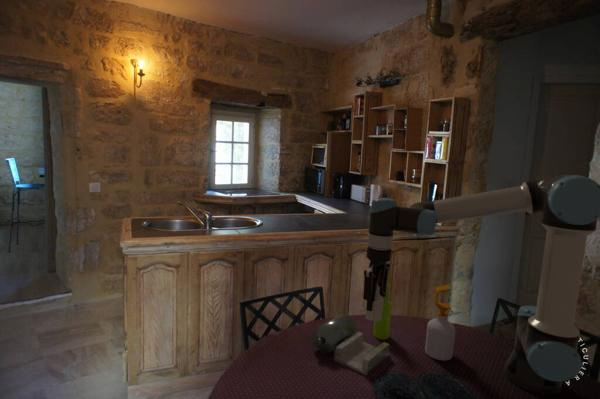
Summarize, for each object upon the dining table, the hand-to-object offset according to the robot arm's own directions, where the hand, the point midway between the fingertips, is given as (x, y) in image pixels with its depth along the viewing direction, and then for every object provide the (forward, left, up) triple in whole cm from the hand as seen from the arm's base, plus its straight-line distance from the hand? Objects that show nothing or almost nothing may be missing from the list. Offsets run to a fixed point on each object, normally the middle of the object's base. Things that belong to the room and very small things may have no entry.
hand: (372, 317), depth 120 cm
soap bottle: (-15, -21, -16) cm, 30 cm away
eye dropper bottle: (0, 0, 0) cm, 1 cm away
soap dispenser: (+6, -18, -16) cm, 25 cm away
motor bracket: (+8, +1, -15) cm, 17 cm away
